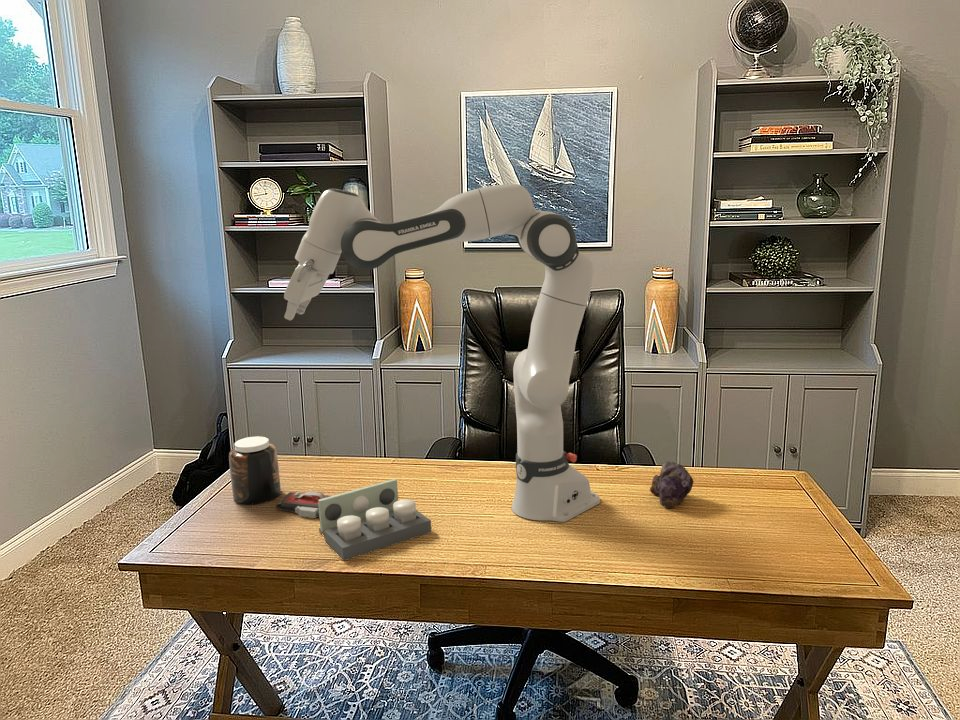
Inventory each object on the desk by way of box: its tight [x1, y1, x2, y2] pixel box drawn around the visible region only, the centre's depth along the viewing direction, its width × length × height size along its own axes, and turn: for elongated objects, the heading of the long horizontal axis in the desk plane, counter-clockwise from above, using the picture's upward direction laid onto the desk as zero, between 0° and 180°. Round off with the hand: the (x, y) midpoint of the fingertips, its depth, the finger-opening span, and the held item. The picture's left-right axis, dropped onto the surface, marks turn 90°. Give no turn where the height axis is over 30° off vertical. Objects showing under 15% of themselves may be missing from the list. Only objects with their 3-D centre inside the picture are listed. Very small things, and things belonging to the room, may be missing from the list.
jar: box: [228, 435, 282, 506], centre depth 196 cm, size 12×12×15 cm
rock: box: [649, 461, 695, 509], centre depth 188 cm, size 12×9×10 cm
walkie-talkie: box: [275, 490, 331, 519], centre depth 188 cm, size 9×4×20 cm
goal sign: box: [318, 478, 399, 537], centre depth 180 cm, size 20×3×8 cm, turn 124°
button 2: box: [393, 499, 417, 524], centre depth 176 cm, size 5×5×4 cm
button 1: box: [337, 515, 361, 542], centre depth 169 cm, size 5×5×4 cm
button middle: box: [366, 507, 389, 533], centre depth 172 cm, size 5×5×4 cm
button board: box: [324, 509, 432, 561], centre depth 173 cm, size 22×10×3 cm, turn 124°
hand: (293, 316), depth 168 cm, fingers open, 8 cm apart
